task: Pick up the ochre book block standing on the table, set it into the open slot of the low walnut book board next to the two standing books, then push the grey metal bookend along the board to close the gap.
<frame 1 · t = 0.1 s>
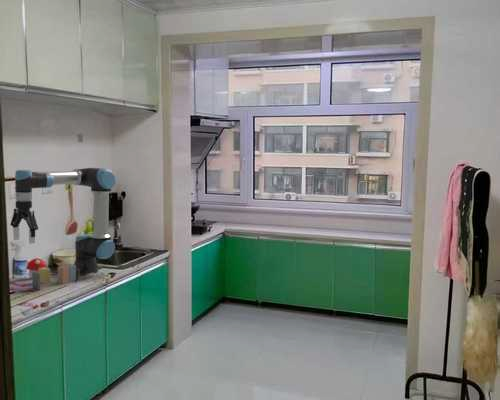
hand: (24, 241, 241), 28 cm above the table, fingers open, 13 cm apart
book trough: (54, 286, 258), on the table
book slate: (70, 280, 266), point 1 cm above the table, touching book trough
bookend: (33, 281, 247), point 6 cm above the table, slide at 0.0 cm
book terracotta: (63, 282, 262), point 1 cm above the table, touching book trough
mushroom: (36, 278, 272), on the table
book ochre: (44, 284, 262), on the table
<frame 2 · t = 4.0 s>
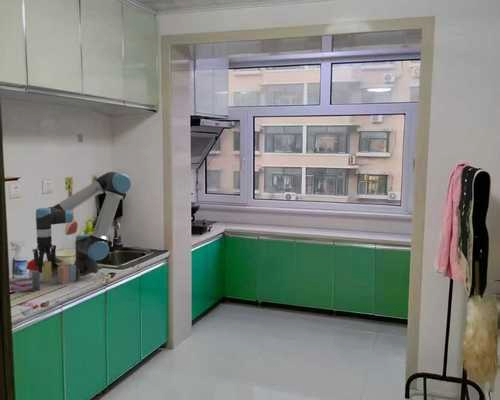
hand: (45, 276, 262), 4 cm above the table, fingers closed on book ochre, 4 cm apart
book ochre: (45, 277, 262), point 4 cm above the table, touching gripper
everything else where it was.
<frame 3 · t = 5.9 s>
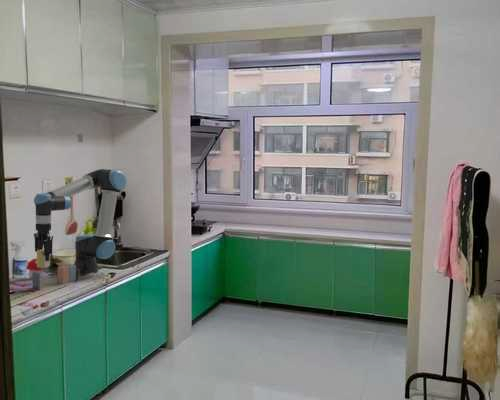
hand: (43, 265, 251), 13 cm above the table, fingers closed on book ochre, 4 cm apart
book ochre: (43, 266, 251), point 13 cm above the table, touching gripper
everything else where it was.
when the fingers open (3 cm above the table, at t = 7.9 s): book ochre drops 1 cm, resting on book trough.
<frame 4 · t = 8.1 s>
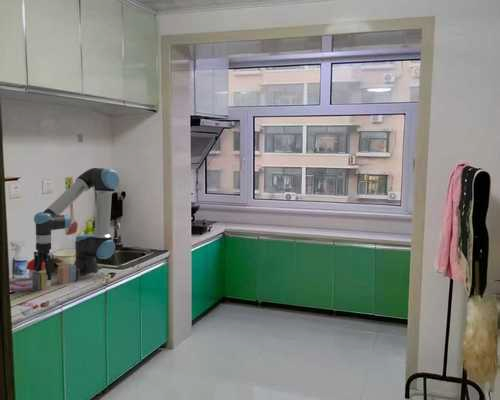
hand: (43, 284, 252), 3 cm above the table, fingers open, 7 cm apart
book ochre: (43, 287, 252), point 1 cm above the table, touching book trough
everything else where it was.
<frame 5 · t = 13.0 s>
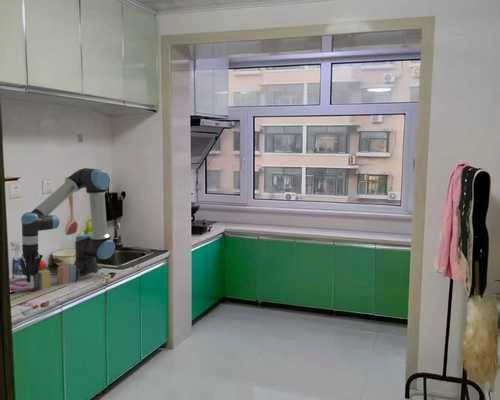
hand: (30, 287, 245), 3 cm above the table, fingers closed
bookend: (35, 281, 247), point 6 cm above the table, slide at 0.9 cm, touching gripper
everything else where it was.
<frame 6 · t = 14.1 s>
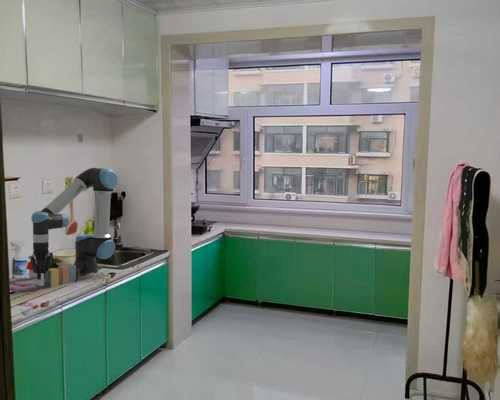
hand: (41, 285, 250), 3 cm above the table, fingers closed
bookend: (45, 278, 252), point 6 cm above the table, slide at 6.9 cm, touching book ochre, gripper
book ochre: (52, 285, 257), point 1 cm above the table, touching bookend
everything else where it was.
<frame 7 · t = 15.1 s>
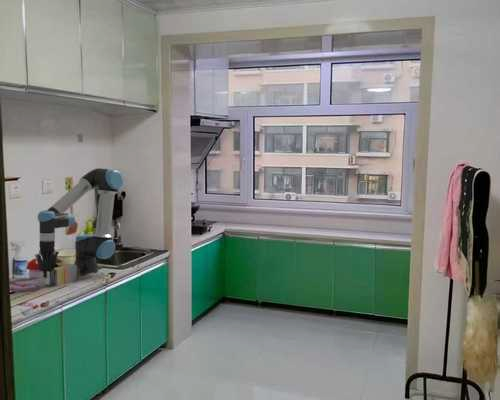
hand: (46, 283, 253), 3 cm above the table, fingers closed
book slate: (71, 280, 267), point 1 cm above the table, touching book terracotta, book trough
bookend: (51, 277, 255), point 6 cm above the table, slide at 10.3 cm, touching book ochre, gripper
book terracotta: (65, 282, 263), point 1 cm above the table, touching book ochre, book slate, book trough
book ochre: (58, 284, 259), point 1 cm above the table, touching book terracotta, book trough, bookend
everything else where it was.
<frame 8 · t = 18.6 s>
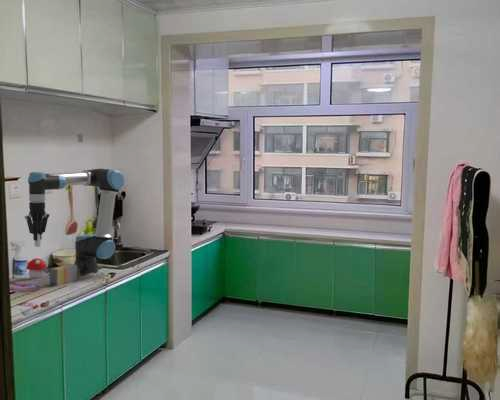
hand: (37, 246, 247), 24 cm above the table, fingers closed
bookend: (51, 277, 256), point 6 cm above the table, slide at 10.5 cm, touching book ochre
everything else where it was.
at the end: book ochre 1.5 cm from the target spot, point 1.2 cm above the table; book ochre tilted 0°; bookend slide at 10.5 cm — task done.
